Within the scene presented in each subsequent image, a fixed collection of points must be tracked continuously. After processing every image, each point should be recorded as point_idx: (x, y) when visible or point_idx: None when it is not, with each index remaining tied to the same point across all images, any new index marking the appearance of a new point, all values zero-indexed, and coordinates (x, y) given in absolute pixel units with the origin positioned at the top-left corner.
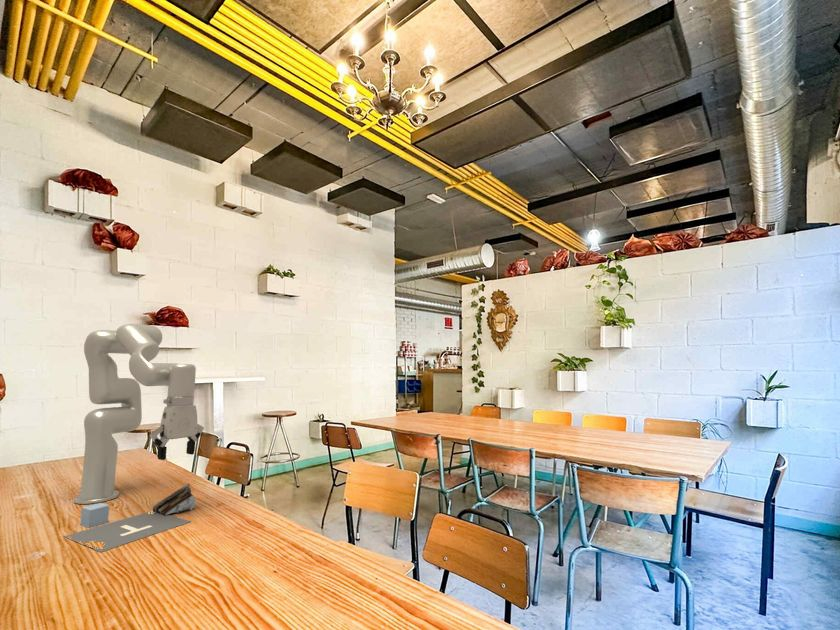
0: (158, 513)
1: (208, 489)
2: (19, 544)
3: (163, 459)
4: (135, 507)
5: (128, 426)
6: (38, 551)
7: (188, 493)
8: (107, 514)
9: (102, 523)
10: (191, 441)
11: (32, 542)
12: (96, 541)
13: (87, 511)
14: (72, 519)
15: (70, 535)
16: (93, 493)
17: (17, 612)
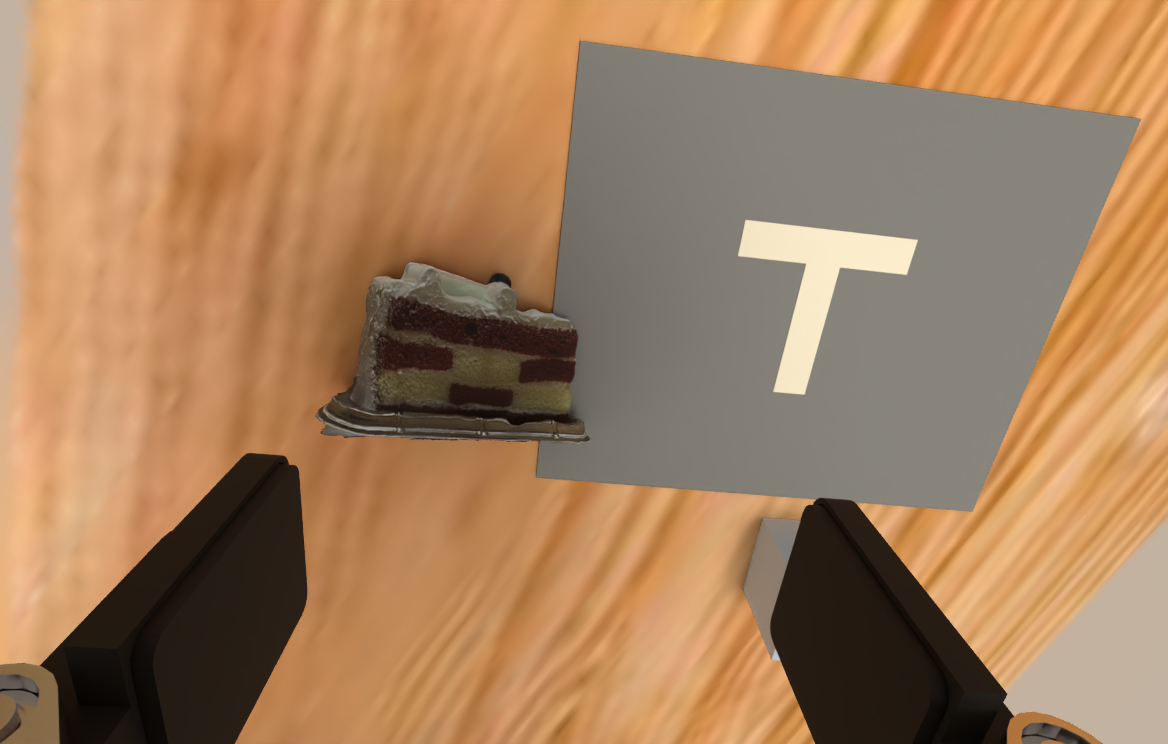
0: None
1: (75, 541)
2: (1071, 577)
3: (851, 502)
4: (543, 604)
5: None
6: (1137, 432)
7: (392, 344)
8: (783, 545)
9: (789, 520)
10: (124, 738)
11: (1046, 556)
12: (1006, 300)
13: None
14: (781, 682)
15: (957, 495)
16: None
17: None
